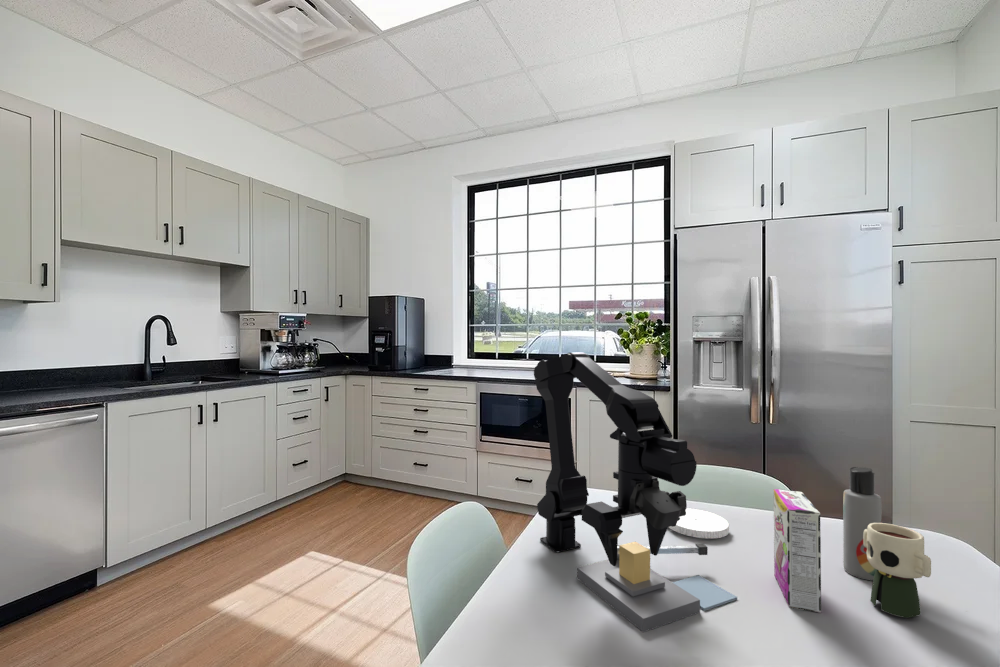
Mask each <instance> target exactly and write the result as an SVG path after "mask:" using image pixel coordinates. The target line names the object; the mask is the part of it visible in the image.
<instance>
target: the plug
mask: <svg viewBox="0 0 1000 667" xmlns="http://www.w3.org/2000/svg"><path fill="white" fill-rule="evenodd" d="M619 545H620V548H619V568H617V569H613V570H610V571H606V572H605V576H606V577H607V578H608V579H610V580H611V581H612V582H614V583H615V584H616V585H618V586H619V587H621V588H622V589H623V590H625V591H626V592H627V593H629V594H630V595H631V596H637V595H640V594H643V593H647V592H650V591H653V590H657V589H660V588H663V587H665V582H664V581H662V580H661V579H659V578H658V577H656V576H654V575H653V574H651V573H650V569H651V554H650V550H649V549H648V548H646V547H644V546H645V545H643V544H640V543H639V542H637V541H632V542H628V543H627V542H626V543H624V544H619Z"/></svg>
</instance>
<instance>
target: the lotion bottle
mask: <svg viewBox="0 0 1000 667" xmlns="http://www.w3.org/2000/svg"><path fill="white" fill-rule="evenodd" d="M873 471H874V470H873V469H872V468H869V467H866V466H865V467H863V466H862V467H859V466H853V467H850V468H849V489H845V490H844V491H843V495H842V496H843V498H842V499H843V500H842V501H843V504H842V506H843V507H842V508H843V510H842V511H843V512H842V514H843V515H842V516H843V517H842V518H843V519H842V520H843V521H842V524H843V525H842V526H843V527H842V528H843V529H842V530H843V531H842V532H843V535H842V536H843V538H842V539H843V544H842V546H843V547H842V548H843V549H842V550H843V552H842V554H843V555H842V556H843V558H842V559H843V560H842V563H843V564H842V566H843V569H844V570H845V572H846V573H848V574H850V575H851V576H853V577H855V578H859V579H863V580H865V581H866V580H867V581H873V579H874V574H875V571H876V570H877V569H875V568H874V567H872V566H871V564H870V563H869V561H868V559H867V548H866V547H865V546H864V543H863V535H864V530H865V529H867V527H868V525H869V524H871V523H882V497H881V496H880V495H878V494H877V493H875V492H876V473H875V472H873Z"/></svg>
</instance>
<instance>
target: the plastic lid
mask: <svg viewBox="0 0 1000 667" xmlns="http://www.w3.org/2000/svg"><path fill="white" fill-rule="evenodd" d="M668 529H670V530H672V531H674V532H676V533H679V534H681V535H684V536H686V537H687V536H688V537H693V538H699V539H720V538H725V537H726V536H728V534H730V533H729V532H730V524H729V522H728V521H727V519H725V518H724V517H722V516H720V515H718V514H716V513H713V512H710V511H707V510H702V509H696V508H690V507H689V508H688V507H687V508H686V515H685V516H681V517H680V520H679V521H677V524H676V526H674V527H672V526H669V527H668Z"/></svg>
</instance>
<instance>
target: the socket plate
mask: <svg viewBox="0 0 1000 667" xmlns="http://www.w3.org/2000/svg"><path fill="white" fill-rule="evenodd" d="M617 568H619V561H618V560H617V562H616V566H613V565H611V564H610V562H609V559H608V558H607V559H604V560H600V561H596V562H592V563H591V562H590V563H588V564H584V565H580V566H576V579H577V580H578V581H580V583H582V584H583V585H585V587H587V588H588V589H589V590H591V591H592V592H593V593H594V594H596V595H597V596H598V597H599V598H600V599H601V600H603V601H604V602H606V603H607V604H608V605H609V606H611V607H612V608H613V609H614V610H615V611H616V612H618V613H619V614H620V615H622V616H623V617H624V618H625V619H626V620H628V621H629V622H630V623H631V624H632V625H633V626H635V627H636V628H637V629H639V630H640V631H641V632H642V631H643V632H642V633H645V632H647V631H650V630H653V629H657V628H660V627H662V626H665V625H667V624H668V625H669V624H670V623H671V624H672V623H673V622H676V621H679V620H682V619H685V618H687V617H690V616H694V615H696V614H700V613H701V608H700V600H699V599H698V598H696V597H695V596H693V595H691V594H690V593H688V592H687V591H685V590H683V589H682V588H680V587H679V586H677V585H675V584H674V583H672V581H670V580H669V579H668V578H666V577H664V576H662V575H661V574H659V573H657V571H654V570H653V569H651V568H650V573H651V574H653V575H654V576H656V577H658V578H659V579H661V580H662V581H664V582H665V587H663V588H660V589H657V590H653V591H650V592H647V593H643V594H640V595H637V596H631V595H630V594H629V593H627V592H626V591H625V590H623V589H622V588H621V587H619V586H618V585H616V584H615V583H614V582H612V581H611V580H610V579H608V578H607V577H606V576H605V572H606V571H610V570H613V569H617Z"/></svg>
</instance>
